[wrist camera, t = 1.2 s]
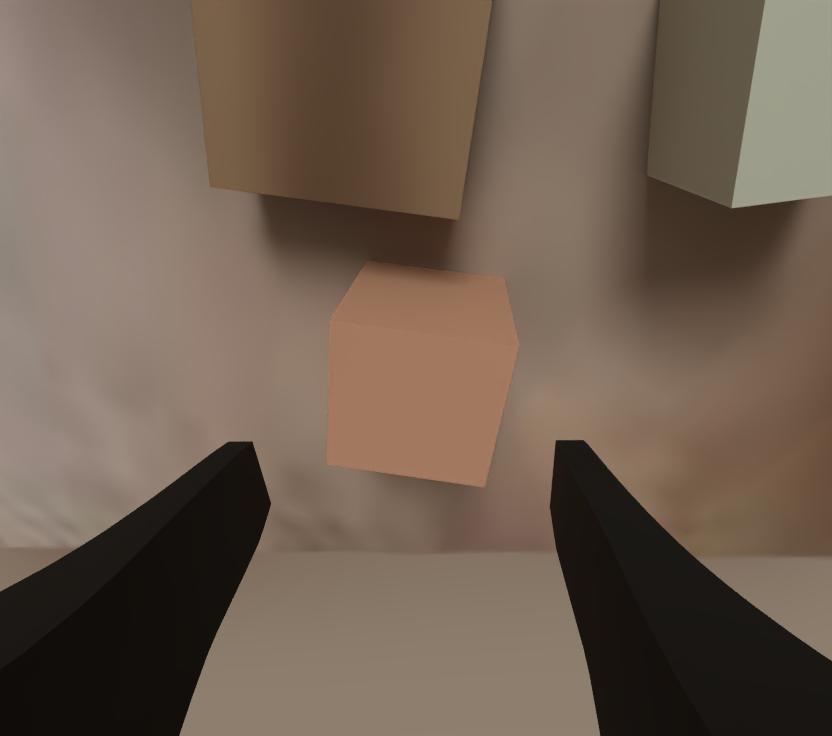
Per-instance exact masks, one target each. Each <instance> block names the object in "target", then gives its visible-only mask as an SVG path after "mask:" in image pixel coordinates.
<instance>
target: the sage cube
mask: <svg viewBox="0 0 832 736" xmlns="http://www.w3.org/2000/svg"><path fill="white" fill-rule="evenodd" d="M646 175H647V176H649V177H652V178H655V179H657V180H660V181H662V182H665V183H667V184H670V185H673V186H675V187H678V188H680V189H683V190H685V191H688V192H691V193H693V194H696V195H698V196H701V197H703V198H706V199H709V200H711V201H714V202H716V203H719V204H721V205H724V206H727V207H729V208H738V207H746V206H753V205H761V204H769V203H777V202H784V201H792V200H800V199H808V198H815V197H823V196H831V195H832V0H660V5H659V18H658V31H657V44H656V57H655V70H654V83H653V96H652V109H651V122H650V135H649V148H648V161H647V174H646Z"/></svg>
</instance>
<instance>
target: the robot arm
mask: <svg viewBox="0 0 832 736" xmlns="http://www.w3.org/2000/svg"><path fill="white" fill-rule="evenodd" d="M270 506H271V501H270V498H269V495H268V492H267V488H266V485H265V482H264V478H263V475H262V472H261V468H260V465H259V462H258V458H257V455H256V452H255V449H254V445H253V442H228V443H226V444H224V445H223V446H221V447H220V448H219V449H217V450H216V451H214V452H213V453H212V454H210V455H209V456H208V457H206V458H205V459H203V460H202V461H201V462H200V463H198V464H197V465H196V466H194V467H193V468H192V469H190V470H189V471H188V472H186V473H185V474H184V475H182V476H181V477H180V478H178V479H177V480H176V481H174V482H173V483H172V484H170V485H169V486H168V487H166V488H165V489H164V490H162V491H161V492H160V493H158V494H157V495H156V496H154V497H153V498H151V499H150V500H149V501H147V502H146V503H144V504H143V505H141V506H140V507H139V508H137V509H136V510H134V511H133V512H131V513H130V514H129V515H127V516H126V517H124V518H123V519H121V520H120V521H119V522H117V523H116V524H114V525H113V526H111V527H110V528H108V529H107V530H105V531H104V532H102V533H101V534H99V535H98V536H96V537H95V538H93V539H92V540H90V541H88V542H87V543H85V544H84V545H82V546H80V547H79V548H77V549H75V550H74V551H72V552H71V553H69V554H67V555H66V556H64V557H62V558H61V559H59V560H57V561H56V562H54V563H52V564H50V565H49V566H47V567H45V568H43V569H42V570H40V571H38V572H36V573H34V574H32V575H30V576H29V577H27V578H25V579H23V580H21V581H19V582H18V583H16V584H14V585H12V586H10V587H8V588H6V589H4V590H3V591H1V592H0V736H179V734H180V731H181V728H182V726H183V723H184V719H185V717H186V713H187V711H188V708H189V705H190V702H191V699H192V696H193V693H194V690H195V687H196V685H197V682H198V679H199V677H200V674H201V671H202V668H203V665H204V663H205V660H206V657H207V655H208V652H209V649H210V647H211V644H212V643H213V640H214V638H215V636H216V633H217V631H218V629H219V627H220V625H221V622H222V620H223V618H224V616H225V614H226V612H227V610H228V608H229V606H230V603H231V601H232V599H233V597H234V595H235V593H236V591H237V589H238V586H239V584H240V582H241V580H242V578H243V576H244V574H245V572H246V569H247V567H248V565H249V563H250V561H251V558H252V556H253V554H254V552H255V550H256V548H257V545H258V543H259V540H260V537H261V534H262V532H263V529H264V526H265V522H266V519H267V516H268V512H269V509H270ZM550 510H551V517H552V524H553V531H554V537H555V543H556V549H557V553H558V557H559V561H560V564H561V568H562V572H563V575H564V579H565V583H566V586H567V590H568V594H569V597H570V601H571V605H572V608H573V612H574V615H575V619H576V623H577V626H578V630H579V633H580V637H581V641H582V644H583V648H584V652H585V657H586V661H587V665H588V670H589V674H590V680H591V685H592V691H593V696H594V702H595V707H596V713H597V719H598V724H599V730H600V736H832V661H831V660H829V659H828V658H826V657H825V656H823V655H822V654H820V653H819V652H817V651H816V650H814V649H813V648H811V647H810V646H809V645H807V644H806V643H804V642H803V641H802V640H800V639H798V638H797V637H796V636H794V635H793V634H791V633H790V632H789V631H787V630H786V629H785V628H783V627H782V626H781V625H779V624H778V623H776V622H775V621H774V620H772V619H771V618H770V617H768V616H767V615H766V614H764V613H763V612H762V611H760V610H759V609H757V608H756V607H755V606H753V605H752V604H751V603H749V602H748V601H747V600H746V599H744V598H743V597H742V596H740V595H739V594H738V593H737V592H735V591H734V590H733V589H732V588H730V587H729V586H728V585H727V584H725V583H724V582H723V581H722V580H721V579H719V578H718V577H717V576H716V575H715V574H713V573H712V572H711V571H710V570H709V569H708V568H706V567H705V566H704V565H703V564H701V563H700V562H699V561H698V560H697V559H696V558H695V557H694V556H692V555H691V554H690V553H689V552H688V551H687V550H686V549H685V548H684V547H683V546H682V545H680V544H679V543H678V542H677V541H676V540H675V539H674V538H673V537H672V536H671V535H670V534H669V533H668V532H667V531H666V530H665V529H664V528H663V527H662V526H661V525H660V524H659V523H658V522H657V521H656V520H655V519H654V518H653V517H652V516H651V515H650V514H649V513H648V512H647V511H646V510H645V509H644V508H643V507H642V506H641V505H640V503H639V502H638V501H637V500H636V499H635V498H634V497H633V496H632V495H631V494H630V493H629V492H628V491H627V490H626V488H625V487H624V486H623V485H622V484H621V483H620V482H619V481H618V479H617V478H616V477H615V476H614V475H613V474H612V472H611V471H610V470H609V469H608V468H607V467H606V465H605V464H604V463H603V462H602V461H601V460H600V458H599V457H598V456H597V455H596V453H595V452H594V451H593V450H592V449H591V447H590V446H589V445H588V444H587V443H586V442H585V441H584V440H556V445H555V456H554V467H553V478H552V489H551V501H550Z"/></svg>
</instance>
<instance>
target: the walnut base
mask: <svg viewBox="0 0 832 736" xmlns="http://www.w3.org/2000/svg"><path fill="white" fill-rule="evenodd" d="M491 6H492V0H191V10H192V19H193V29H194V38H195V48H196V57H197V67H198V76H199V86H200V95H201V105H202V114H203V124H204V134H205V143H206V153H207V162H208V172H209V181H210V187H214V188H221V189H229V190H237V191H244V192H252V193H259V194H267V195H274V196H282V197H289V198H297V199H305V200H312V201H320V202H327V203H335V204H342V205H350V206H357V207H365V208H373V209H380V210H388V211H395V212H403V213H410V214H418V215H425V216H433V217H440V218H448V219H456V220H459V217H460V210H461V203H462V197H463V190H464V184H465V177H466V171H467V164H468V157H469V151H470V144H471V138H472V131H473V125H474V118H475V111H476V105H477V98H478V92H479V85H480V79H481V72H482V65H483V59H484V52H485V46H486V39H487V33H488V26H489V19H490V13H491Z"/></svg>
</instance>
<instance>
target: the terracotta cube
mask: <svg viewBox="0 0 832 736" xmlns="http://www.w3.org/2000/svg"><path fill="white" fill-rule="evenodd" d="M518 350H519V342H518V337H517V333H516V329H515V324H514V320H513V315H512V311H511V307H510V302H509V298H508V293H507V289H506V284H505V280H504V278H498V277H490V276H483V275H475V274H468V273H461V272H453V271H446V270H438V269H431V268H424V267H416V266H409V265H401V264H394V263H386V262H379V261H372V260H367V261H366V263H365V264H364V266H363V267H362V269H361V271H360V272H359V274H358V275H357V277H356V279H355V280H354V282H353V283H352V285H351V287H350V288H349V290H348V291H347V293H346V295H345V296H344V298H343V299H342V301H341V303H340V304H339V306H338V307H337V309H336V311H335V312H334V314H333V315H332V317H331V319H330V330H329V384H328V437H327V465H334V466H341V467H347V468H354V469H361V470H368V471H375V472H382V473H389V474H395V475H402V476H409V477H416V478H423V479H430V480H436V481H443V482H450V483H457V484H464V485H471V486H478V487H484V488H485V484H486V480H487V476H488V472H489V467H490V463H491V459H492V455H493V451H494V447H495V443H496V439H497V435H498V431H499V427H500V423H501V419H502V415H503V411H504V407H505V403H506V399H507V395H508V391H509V387H510V382H511V378H512V374H513V370H514V366H515V362H516V358H517V354H518Z"/></svg>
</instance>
